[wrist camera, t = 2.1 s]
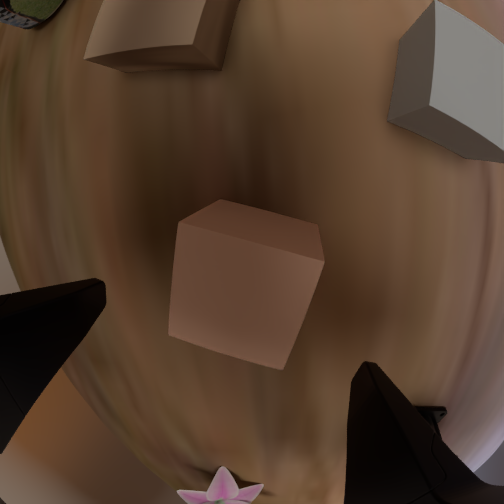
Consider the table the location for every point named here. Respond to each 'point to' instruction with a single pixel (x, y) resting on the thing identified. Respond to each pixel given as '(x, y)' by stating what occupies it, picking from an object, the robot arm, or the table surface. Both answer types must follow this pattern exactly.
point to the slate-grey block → (451, 84)
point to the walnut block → (161, 34)
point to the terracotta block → (243, 281)
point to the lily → (222, 491)
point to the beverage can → (27, 12)
